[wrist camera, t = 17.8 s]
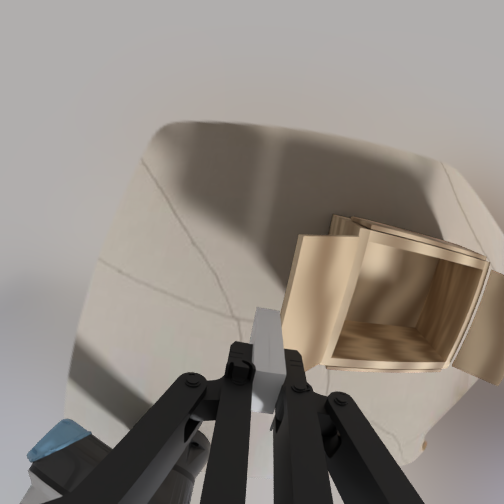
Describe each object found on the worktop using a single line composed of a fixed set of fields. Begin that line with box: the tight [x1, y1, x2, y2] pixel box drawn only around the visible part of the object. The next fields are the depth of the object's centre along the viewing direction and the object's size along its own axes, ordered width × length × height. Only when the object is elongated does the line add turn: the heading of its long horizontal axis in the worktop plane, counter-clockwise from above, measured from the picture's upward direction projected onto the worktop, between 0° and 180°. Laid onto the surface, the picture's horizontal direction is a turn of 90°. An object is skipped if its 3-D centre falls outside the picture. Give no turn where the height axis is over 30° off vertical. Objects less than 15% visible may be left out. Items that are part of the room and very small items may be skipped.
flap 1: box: [280, 234, 360, 372], centre depth 21 cm, size 8×13×1 cm
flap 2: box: [452, 270, 504, 386], centre depth 21 cm, size 8×13×1 cm
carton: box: [319, 214, 490, 373], centre depth 29 cm, size 18×15×10 cm
